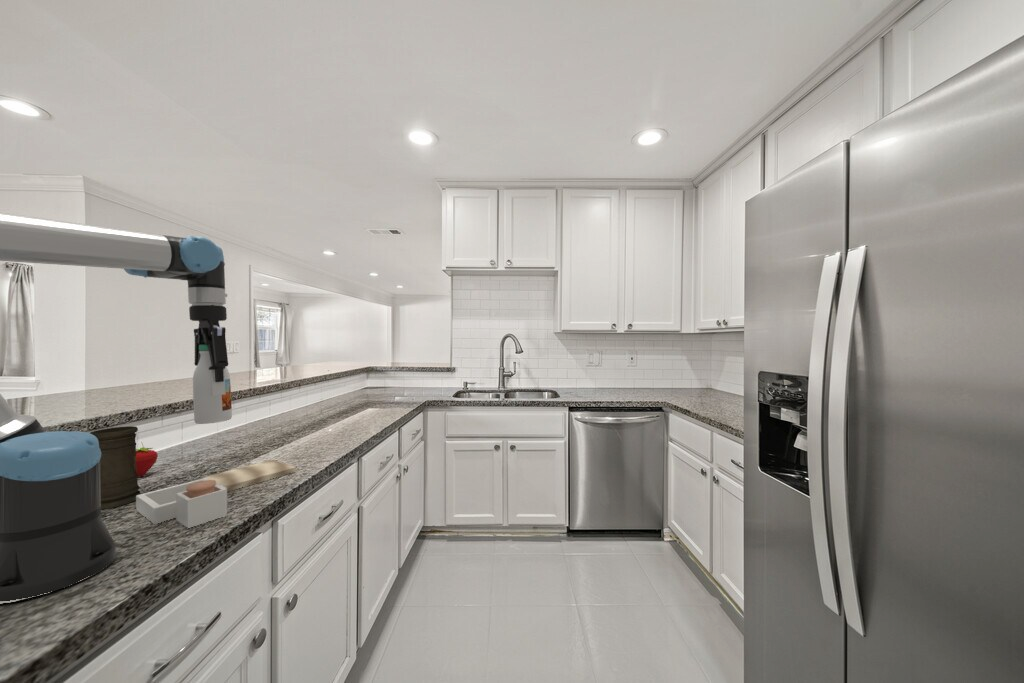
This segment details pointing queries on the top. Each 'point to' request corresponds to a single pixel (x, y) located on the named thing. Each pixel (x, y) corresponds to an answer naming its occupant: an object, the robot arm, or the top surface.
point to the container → (117, 466)
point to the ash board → (251, 474)
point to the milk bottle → (209, 393)
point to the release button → (201, 488)
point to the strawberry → (145, 460)
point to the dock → (183, 505)
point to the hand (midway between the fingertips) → (212, 393)
